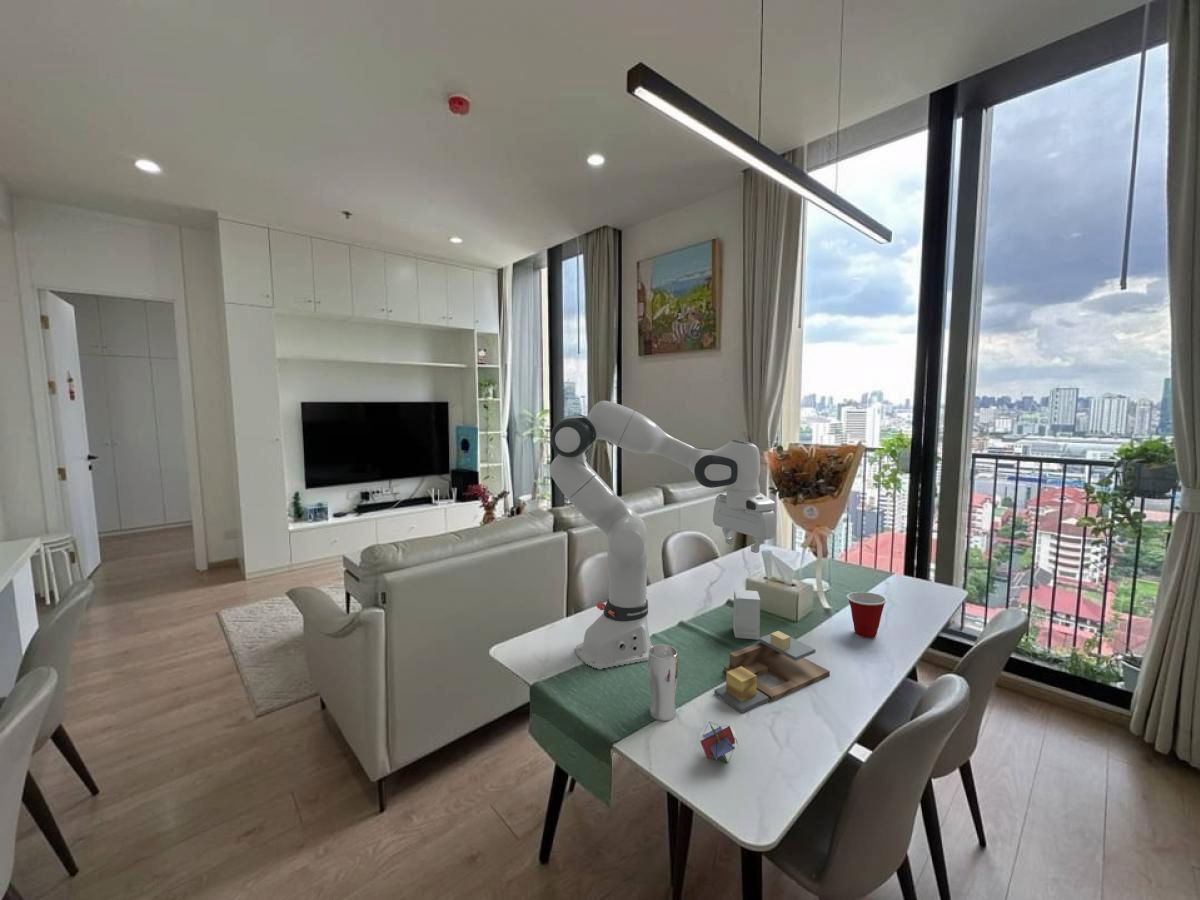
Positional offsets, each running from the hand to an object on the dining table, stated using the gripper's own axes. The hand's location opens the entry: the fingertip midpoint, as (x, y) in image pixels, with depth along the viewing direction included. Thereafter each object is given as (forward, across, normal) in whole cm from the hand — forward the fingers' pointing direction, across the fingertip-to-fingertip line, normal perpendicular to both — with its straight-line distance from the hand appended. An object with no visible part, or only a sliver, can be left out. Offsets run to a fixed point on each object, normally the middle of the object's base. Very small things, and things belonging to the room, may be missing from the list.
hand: (741, 547), depth 137 cm
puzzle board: (+31, +12, +1) cm, 33 cm away
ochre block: (+30, +15, -15) cm, 37 cm away
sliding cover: (+26, +11, +6) cm, 29 cm away
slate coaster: (+31, +15, -15) cm, 38 cm away
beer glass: (+31, +10, -35) cm, 48 cm away
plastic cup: (+31, +11, +42) cm, 54 cm away
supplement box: (+31, -8, +11) cm, 34 cm away
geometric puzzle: (+31, +27, -34) cm, 54 cm away
